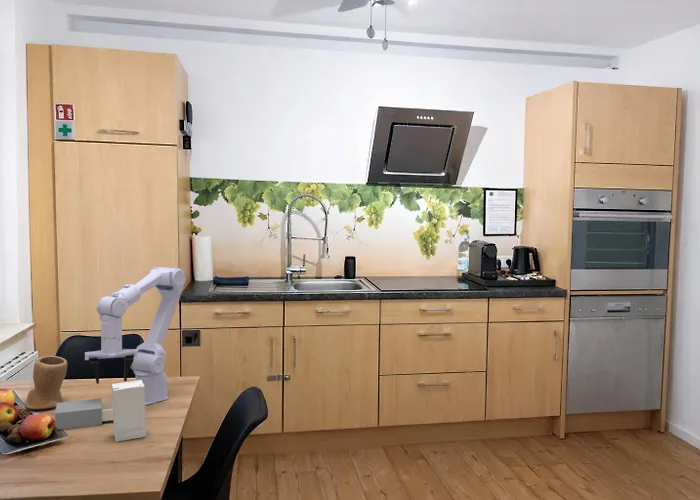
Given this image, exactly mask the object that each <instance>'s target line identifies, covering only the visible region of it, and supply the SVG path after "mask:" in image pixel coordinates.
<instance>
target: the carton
mask: <svg viewBox="0 0 700 500" xmlns="http://www.w3.org/2000/svg"><path fill="white" fill-rule="evenodd" d="M101 403H102V398H92V399H83V400H72V401H63V402H62V401H61V402H60V403H57V405H56V407H55V411H54V420H55V421H54V423H55V424H54V426H55V427H60V428H62V429H63V430H62V431H64V430H65V431H66V430H73V429H81V428H89V427H98V426H99V427H100V426H102V425H103V424H102V423H103V421H102V404H101Z"/></svg>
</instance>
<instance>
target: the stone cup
mask: <svg viewBox="0 0 700 500" xmlns="http://www.w3.org/2000/svg"><path fill="white" fill-rule="evenodd" d="M67 369H68V361H67V359H65V358H63V357H60V356H57V355H44V356H40V357H38V358H37V359H36V360H35V362H34V364H33V371H32V379H33V383H34V388H32V389H30V390H29V391H28V393H27V396H26V400H25V407H26V408H27V409H29V410H30V409H31V410H46V409H51V408H56V405H57V403H61V402H62V391H61V387H62V384H63V382H64V379H65V378H66V375H67V371H68V370H67Z"/></svg>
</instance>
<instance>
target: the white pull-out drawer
mask: <svg viewBox="0 0 700 500" xmlns="http://www.w3.org/2000/svg"><path fill="white" fill-rule="evenodd" d="M101 404H102V422H109V421H113V403H112V401H105V402H104V401H101Z"/></svg>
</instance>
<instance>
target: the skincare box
mask: <svg viewBox="0 0 700 500" xmlns="http://www.w3.org/2000/svg"><path fill="white" fill-rule="evenodd" d="M111 399H112V401H111V402H112V403H113V420H112V422H113V424H112V425H113V436H114V440H115V442H123V441H128V440H134V439H139V438H141V439H142V438H146V437H147V427H146V426H147V425H146V423H147V422H146V419H147V418H146V405H145V386H144V384H143V382H142V380H136V379H135V380H132V381H123V382H117V383H111Z"/></svg>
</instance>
